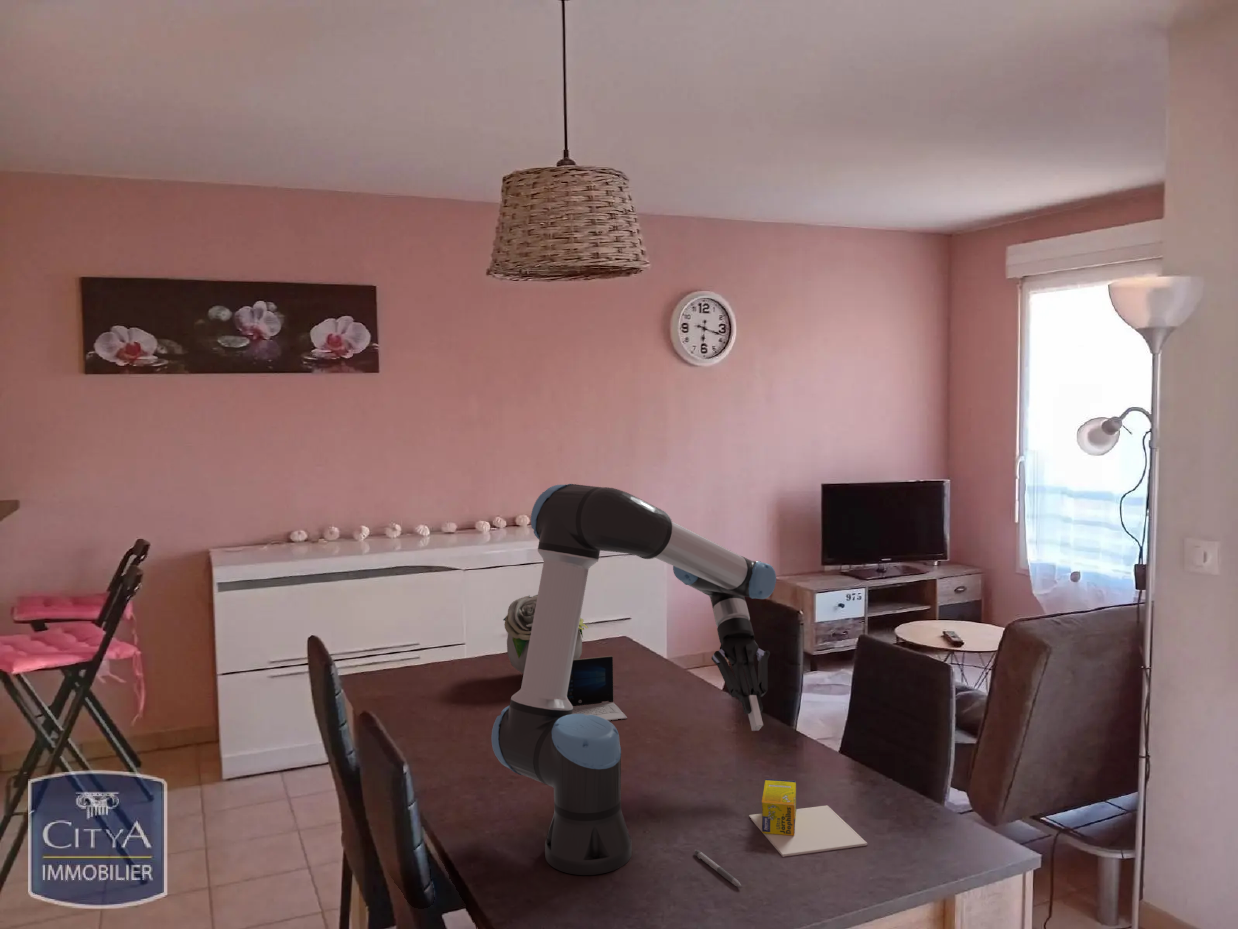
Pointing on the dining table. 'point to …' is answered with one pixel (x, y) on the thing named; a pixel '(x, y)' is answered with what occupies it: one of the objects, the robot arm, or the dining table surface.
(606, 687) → the laptop
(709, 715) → the dining table surface
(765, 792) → the supplement box
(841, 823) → the mat
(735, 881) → the pen
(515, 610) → the flower arrangement
